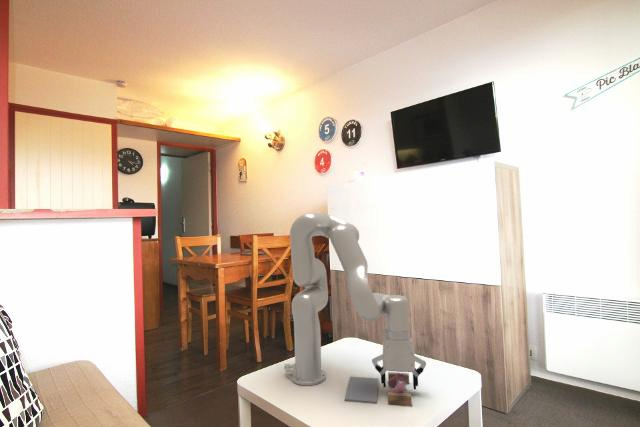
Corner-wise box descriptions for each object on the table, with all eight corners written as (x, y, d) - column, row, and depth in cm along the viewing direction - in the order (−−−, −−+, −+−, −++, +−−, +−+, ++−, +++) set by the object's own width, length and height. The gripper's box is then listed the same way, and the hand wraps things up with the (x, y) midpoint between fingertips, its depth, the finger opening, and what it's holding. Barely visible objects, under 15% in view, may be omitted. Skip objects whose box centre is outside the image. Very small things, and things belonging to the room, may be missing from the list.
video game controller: (399, 405, 107) (409, 386, 107) (386, 398, 108) (396, 378, 107) (398, 390, 117) (407, 372, 116) (386, 383, 118) (395, 365, 117)
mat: (344, 401, 108) (344, 399, 108) (350, 378, 123) (350, 376, 123) (376, 403, 106) (376, 401, 106) (378, 380, 121) (378, 378, 121)
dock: (388, 404, 105) (387, 394, 105) (388, 380, 121) (388, 372, 121) (411, 406, 104) (411, 396, 104) (408, 382, 119) (408, 373, 119)
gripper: (370, 336, 111) (372, 390, 110) (426, 338, 107) (428, 394, 107) (371, 329, 118) (373, 379, 117) (423, 331, 114) (425, 383, 114)
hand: (399, 386), depth 112 cm, fingers open, 9 cm apart
